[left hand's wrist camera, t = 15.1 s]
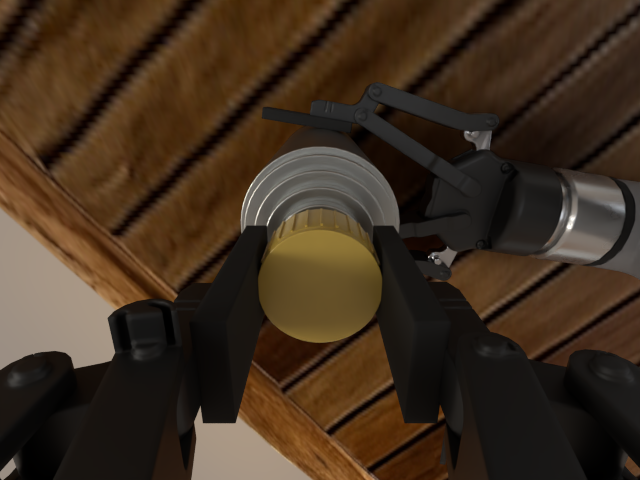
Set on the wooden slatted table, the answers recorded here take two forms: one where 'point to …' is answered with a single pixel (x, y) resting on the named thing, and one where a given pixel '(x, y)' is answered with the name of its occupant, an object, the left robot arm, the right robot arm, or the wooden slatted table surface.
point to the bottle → (320, 183)
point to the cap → (320, 277)
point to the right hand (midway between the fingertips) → (259, 167)
